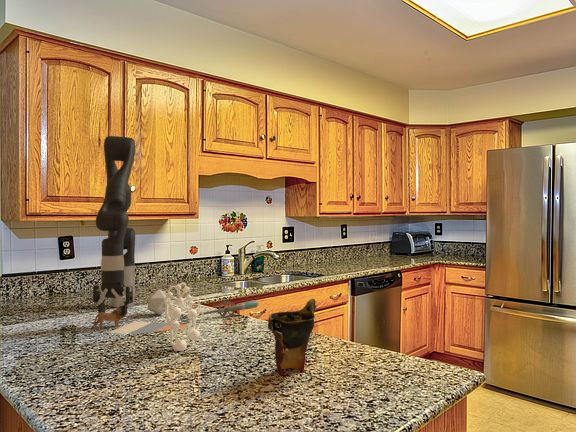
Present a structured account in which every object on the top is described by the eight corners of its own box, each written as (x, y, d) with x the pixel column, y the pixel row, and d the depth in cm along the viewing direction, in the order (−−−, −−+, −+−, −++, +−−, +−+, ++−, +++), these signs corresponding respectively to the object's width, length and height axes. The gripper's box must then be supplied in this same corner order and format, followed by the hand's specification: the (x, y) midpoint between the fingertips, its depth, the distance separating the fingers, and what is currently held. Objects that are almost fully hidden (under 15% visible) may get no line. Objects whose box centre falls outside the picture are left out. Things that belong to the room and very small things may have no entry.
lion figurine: (126, 324, 165) (126, 303, 165) (128, 327, 162) (128, 305, 162) (89, 328, 160) (89, 307, 160) (91, 331, 156) (91, 309, 156)
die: (165, 318, 175) (164, 291, 175) (143, 317, 177) (143, 290, 177) (174, 313, 184) (174, 287, 184) (153, 312, 185) (153, 287, 185)
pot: (297, 363, 123) (297, 295, 123) (332, 372, 116) (332, 300, 116) (251, 381, 110) (251, 305, 110) (289, 393, 103) (289, 311, 103)
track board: (89, 332, 154) (89, 331, 154) (117, 321, 170) (117, 320, 170) (167, 337, 148) (167, 336, 148) (188, 325, 164) (188, 324, 164)
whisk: (174, 331, 171) (170, 313, 172) (250, 315, 189) (246, 299, 190) (183, 326, 162) (180, 307, 164) (262, 310, 180) (258, 293, 182)
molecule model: (196, 272, 134) (186, 271, 136) (159, 298, 123) (149, 296, 126) (213, 329, 140) (203, 327, 143) (179, 359, 130) (169, 356, 132)
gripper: (87, 269, 159) (87, 317, 159) (125, 270, 156) (125, 319, 156) (100, 266, 166) (101, 312, 166) (137, 267, 163) (137, 314, 163)
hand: (112, 315), depth 161 cm, fingers closed on lion figurine, 7 cm apart
